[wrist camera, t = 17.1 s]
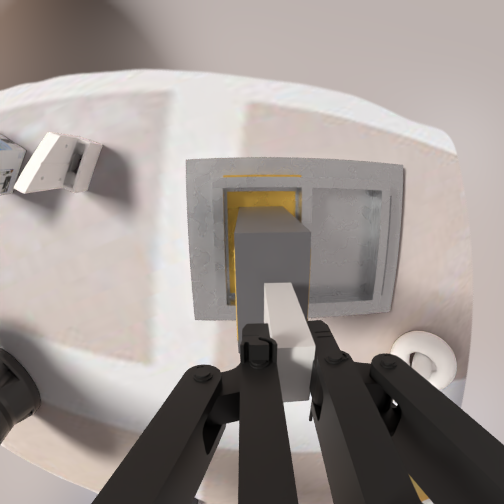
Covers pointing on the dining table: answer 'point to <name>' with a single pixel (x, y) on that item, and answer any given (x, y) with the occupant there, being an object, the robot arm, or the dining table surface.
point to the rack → (311, 216)
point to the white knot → (427, 357)
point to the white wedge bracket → (60, 164)
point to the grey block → (268, 260)
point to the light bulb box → (9, 164)
